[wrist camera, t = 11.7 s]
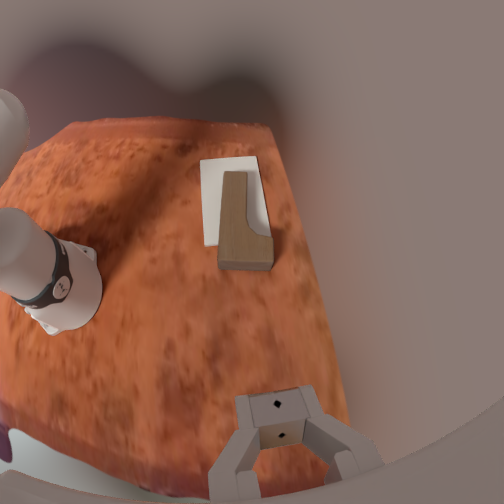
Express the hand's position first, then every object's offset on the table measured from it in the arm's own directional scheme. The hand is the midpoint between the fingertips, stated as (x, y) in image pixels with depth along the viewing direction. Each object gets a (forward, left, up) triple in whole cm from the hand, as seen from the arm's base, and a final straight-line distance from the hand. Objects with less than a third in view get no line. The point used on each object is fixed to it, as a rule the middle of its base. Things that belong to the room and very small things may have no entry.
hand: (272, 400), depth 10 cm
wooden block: (-6, +17, -33) cm, 37 cm away
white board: (-15, +30, -35) cm, 49 cm away
